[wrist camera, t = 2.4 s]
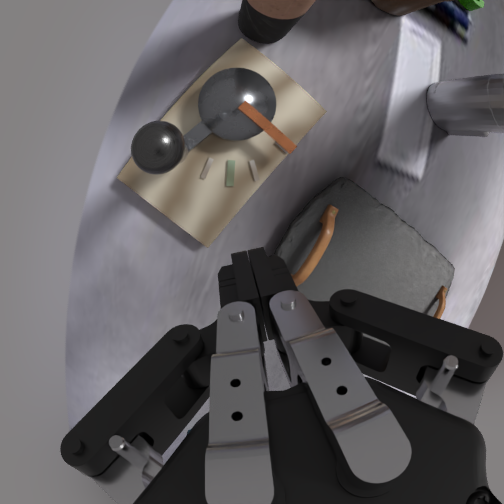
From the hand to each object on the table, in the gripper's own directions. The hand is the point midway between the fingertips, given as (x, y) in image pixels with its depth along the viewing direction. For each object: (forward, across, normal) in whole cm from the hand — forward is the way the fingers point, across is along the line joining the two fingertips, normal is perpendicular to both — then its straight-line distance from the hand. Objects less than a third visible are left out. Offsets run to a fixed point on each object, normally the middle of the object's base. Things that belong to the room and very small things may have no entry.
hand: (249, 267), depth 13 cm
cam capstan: (+24, -2, -4) cm, 25 cm away
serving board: (+24, -21, +23) cm, 39 cm away
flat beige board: (+26, -1, -3) cm, 27 cm away
